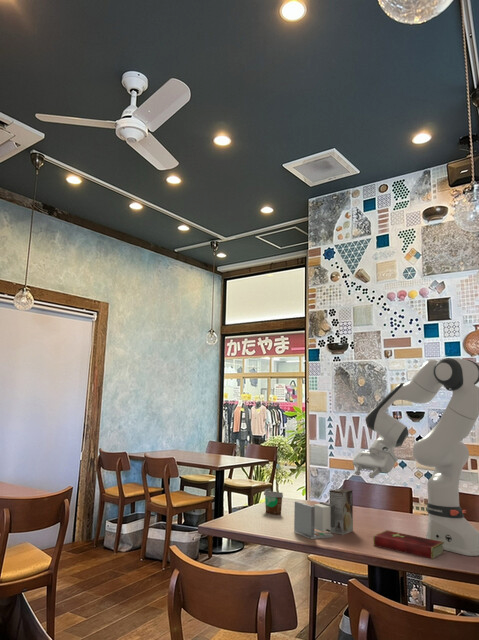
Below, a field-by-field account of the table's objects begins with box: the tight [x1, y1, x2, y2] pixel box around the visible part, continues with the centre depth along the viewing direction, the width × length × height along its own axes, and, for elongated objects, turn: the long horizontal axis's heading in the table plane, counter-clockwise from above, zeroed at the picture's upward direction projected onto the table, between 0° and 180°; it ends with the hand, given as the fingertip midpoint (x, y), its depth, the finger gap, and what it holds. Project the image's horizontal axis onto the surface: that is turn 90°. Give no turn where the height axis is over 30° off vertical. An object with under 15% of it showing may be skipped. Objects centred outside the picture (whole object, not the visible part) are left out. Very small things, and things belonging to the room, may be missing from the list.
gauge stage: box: [312, 501, 335, 533], centre depth 181 cm, size 9×5×10 cm, turn 28°
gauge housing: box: [293, 501, 334, 540], centre depth 179 cm, size 11×10×12 cm
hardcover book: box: [373, 529, 444, 560], centre depth 164 cm, size 12×21×4 cm, turn 49°
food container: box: [263, 488, 284, 516], centre depth 216 cm, size 12×6×10 cm, turn 25°
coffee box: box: [329, 488, 354, 536], centre depth 186 cm, size 9×6×16 cm
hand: (363, 475), depth 194 cm, fingers open, 7 cm apart
